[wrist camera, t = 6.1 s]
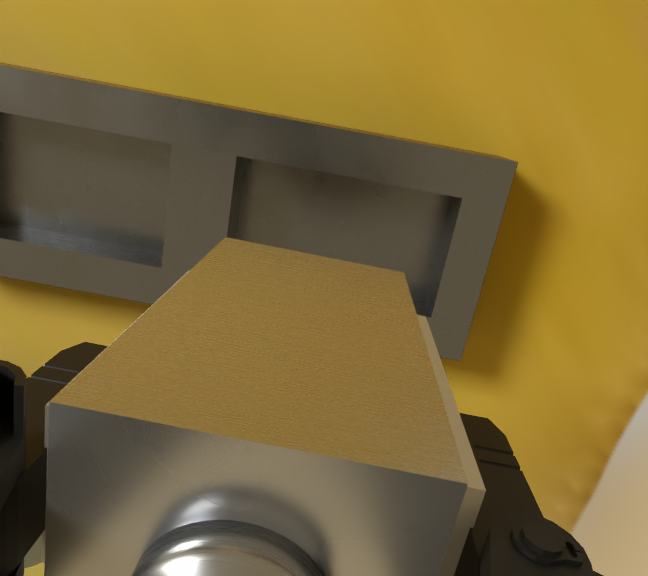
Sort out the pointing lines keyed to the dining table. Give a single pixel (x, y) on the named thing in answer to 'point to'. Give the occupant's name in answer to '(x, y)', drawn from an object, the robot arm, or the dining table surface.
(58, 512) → the grey knobbed block
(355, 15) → the dining table surface
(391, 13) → the dining table surface
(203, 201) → the divided tray
